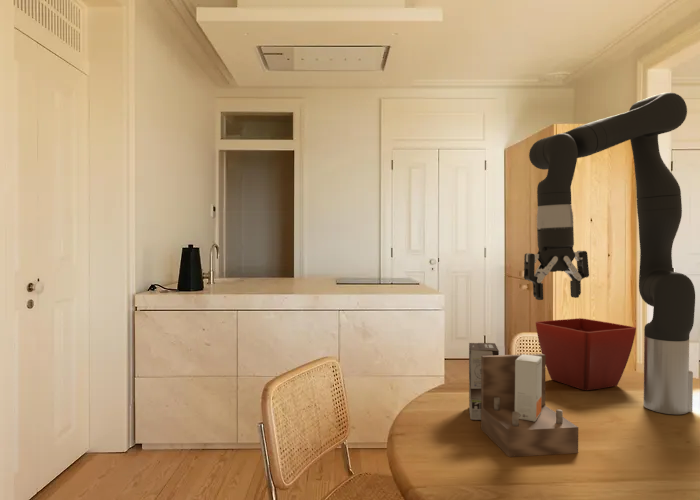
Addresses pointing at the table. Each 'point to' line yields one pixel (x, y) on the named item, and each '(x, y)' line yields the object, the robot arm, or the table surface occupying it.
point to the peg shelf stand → (504, 422)
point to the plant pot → (585, 351)
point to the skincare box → (528, 386)
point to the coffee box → (477, 375)
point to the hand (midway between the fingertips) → (557, 298)
